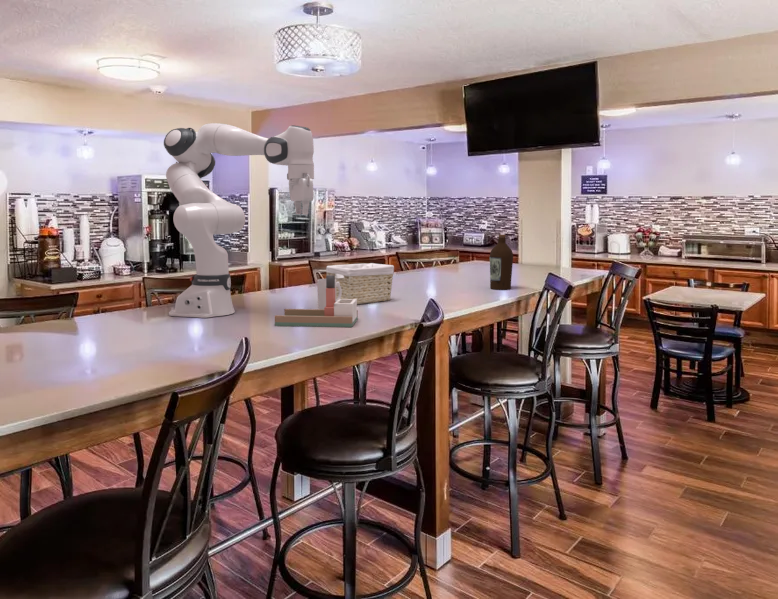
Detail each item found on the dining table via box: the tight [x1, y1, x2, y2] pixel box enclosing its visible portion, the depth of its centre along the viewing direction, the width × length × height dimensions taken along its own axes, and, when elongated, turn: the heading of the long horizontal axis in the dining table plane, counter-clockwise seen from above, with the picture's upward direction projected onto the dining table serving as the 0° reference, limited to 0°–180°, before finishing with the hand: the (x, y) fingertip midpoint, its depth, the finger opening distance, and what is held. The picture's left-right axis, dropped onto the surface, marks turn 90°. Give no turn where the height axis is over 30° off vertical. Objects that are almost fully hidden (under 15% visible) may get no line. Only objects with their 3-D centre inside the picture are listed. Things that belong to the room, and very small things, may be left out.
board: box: [274, 299, 359, 328], centre depth 206 cm, size 25×14×7 cm, turn 85°
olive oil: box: [489, 234, 514, 291], centre depth 289 cm, size 11×11×25 cm
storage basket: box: [325, 262, 395, 305], centre depth 251 cm, size 24×16×15 cm
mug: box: [316, 278, 342, 309], centre depth 225 cm, size 10×7×12 cm, turn 134°
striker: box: [324, 275, 335, 316], centre depth 205 cm, size 3×7×14 cm, turn 175°
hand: (301, 214), depth 217 cm, fingers open, 8 cm apart
